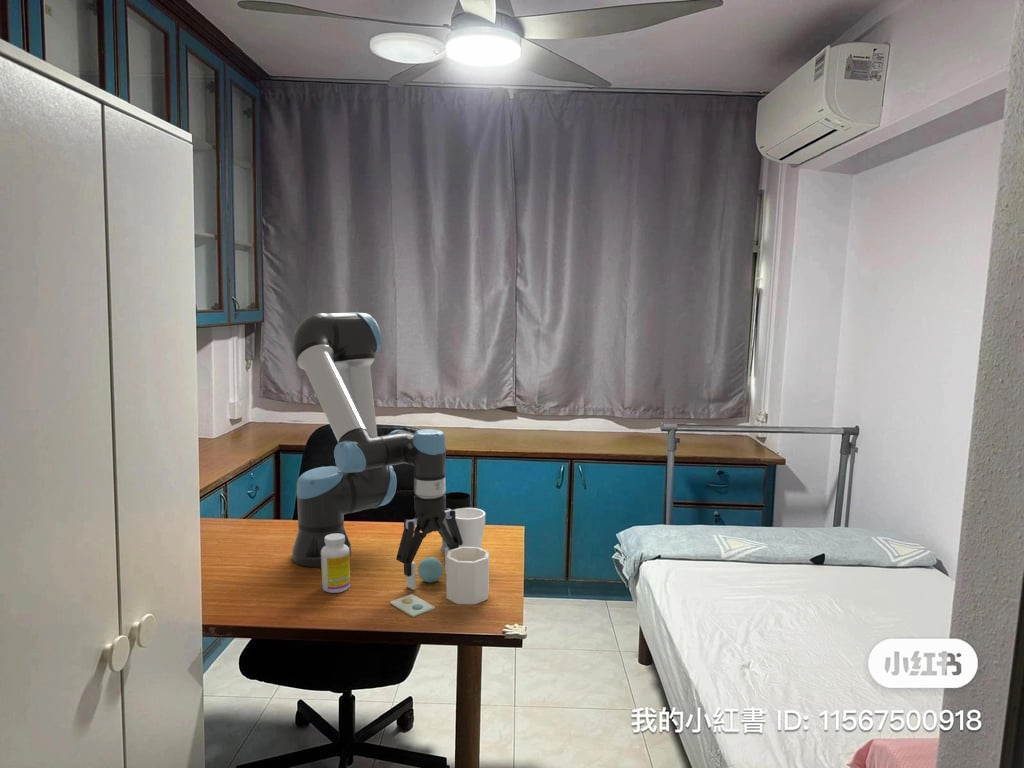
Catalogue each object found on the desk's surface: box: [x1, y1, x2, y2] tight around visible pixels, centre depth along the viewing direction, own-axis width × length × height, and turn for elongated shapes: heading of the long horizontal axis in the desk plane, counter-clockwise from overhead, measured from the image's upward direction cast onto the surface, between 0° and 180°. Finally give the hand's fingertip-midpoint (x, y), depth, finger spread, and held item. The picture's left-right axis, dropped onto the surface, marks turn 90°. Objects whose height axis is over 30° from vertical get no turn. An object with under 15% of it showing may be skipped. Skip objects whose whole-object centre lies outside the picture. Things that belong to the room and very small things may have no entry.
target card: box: [389, 593, 436, 618], centre depth 161 cm, size 9×6×1 cm, turn 43°
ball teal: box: [417, 556, 444, 583], centre depth 174 cm, size 6×6×6 cm
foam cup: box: [454, 507, 486, 548], centre depth 186 cm, size 10×9×13 cm
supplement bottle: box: [320, 533, 351, 594], centre depth 169 cm, size 7×7×13 cm
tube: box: [445, 547, 490, 605], centre depth 166 cm, size 10×10×10 cm
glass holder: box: [440, 491, 471, 554], centre depth 197 cm, size 9×14×15 cm, turn 7°
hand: (430, 580), depth 174 cm, fingers open, 11 cm apart
